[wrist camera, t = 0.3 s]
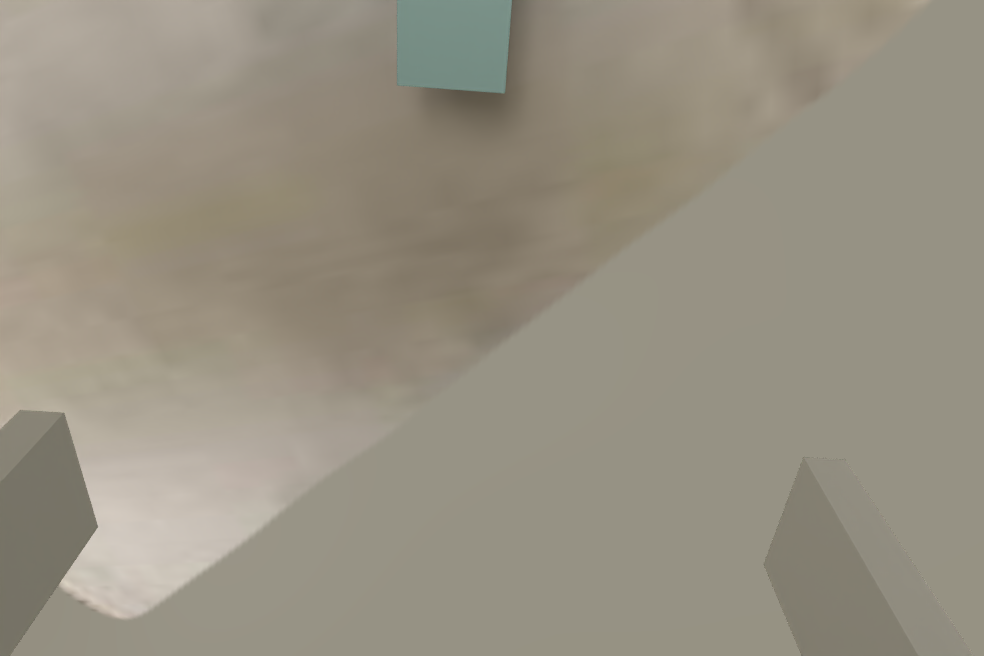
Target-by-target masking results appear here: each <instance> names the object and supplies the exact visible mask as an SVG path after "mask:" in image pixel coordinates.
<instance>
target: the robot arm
mask: <svg viewBox="0 0 984 656" xmlns="http://www.w3.org/2000/svg"><path fill="white" fill-rule="evenodd" d="M97 528H98V525H97V522H96V518H95V515H94V512H93V508H92V505H91V502H90V498H89V495H88V491H87V488H86V485H85V481H84V478H83V475H82V471H81V468H80V464H79V461H78V458H77V454H76V451H75V448H74V444H73V441H72V437H71V434H70V431H69V427H68V424H67V421H66V417H65V414H64V413H59V412H42V411H26V410H20V411H19V412H18V413H17V414H16V415H15V416H14V417H13V418H12V419H11V420H10V421H9V422H8V423H6V424H5V425H4V426H3V427H2V428H1V429H0V656H10V655H11V654H12V652H13V651H14V649H15V648H16V646H17V645H18V643H19V642H20V640H21V639H22V637H23V636H24V635H25V633H26V631H27V630H28V629H29V627H30V626H31V624H32V623H33V621H34V620H35V618H36V617H37V615H38V614H39V612H40V611H41V610H42V608H43V607H44V605H45V604H46V602H47V601H48V599H49V598H50V596H51V595H52V594H53V592H54V590H55V589H56V588H57V586H58V585H59V583H60V582H61V580H62V579H63V577H64V576H65V574H66V573H67V572H68V570H69V569H70V567H71V566H72V564H73V563H74V561H75V560H76V558H77V557H78V555H79V554H80V553H81V551H82V550H83V548H84V547H85V545H86V544H87V542H88V541H89V539H90V538H91V536H92V535H93V533H94V532H95V531H96V529H97ZM764 566H765V569H766V571H767V574H768V576H769V579H770V581H771V583H772V586H773V588H774V591H775V593H776V595H777V598H778V600H779V603H780V605H781V607H782V610H783V612H784V615H785V617H786V619H787V622H788V624H789V627H790V629H791V631H792V634H793V636H794V639H795V641H796V644H797V646H798V648H799V651H800V653H801V656H974V655H973V653H972V652H971V651H970V649H969V647H968V646H967V644H966V643H965V641H964V640H963V638H962V637H961V635H960V634H959V632H958V631H957V629H956V627H955V626H954V624H953V623H952V621H951V620H950V618H949V617H948V615H947V614H946V612H945V611H944V609H943V608H942V606H941V605H940V603H939V602H938V600H937V599H936V597H935V596H934V594H933V593H932V591H931V589H930V588H929V586H928V585H927V584H926V582H925V580H924V579H923V577H922V576H921V574H920V573H919V571H918V570H917V568H916V567H915V565H914V563H913V562H912V560H911V559H910V557H909V556H908V554H907V553H906V551H905V550H904V548H903V547H902V545H901V544H900V542H899V541H898V539H897V538H896V536H895V535H894V533H893V532H892V530H891V528H890V527H889V525H888V524H887V522H886V521H885V519H884V518H883V516H882V515H881V513H880V512H879V510H878V508H877V507H876V506H875V504H874V502H873V501H872V499H871V498H870V497H869V495H868V493H867V492H866V490H865V489H864V487H863V486H862V484H861V483H860V481H859V480H858V478H857V476H856V475H855V473H854V472H853V470H852V469H851V467H850V466H849V464H848V463H847V461H846V460H843V459H827V458H810V457H803V460H802V462H801V465H800V468H799V470H798V473H797V476H796V478H795V481H794V484H793V486H792V489H791V492H790V495H789V498H788V500H787V503H786V506H785V509H784V511H783V514H782V516H781V519H780V522H779V524H778V527H777V530H776V532H775V535H774V538H773V540H772V543H771V546H770V549H769V552H768V554H767V557H766V559H765V562H764Z"/></svg>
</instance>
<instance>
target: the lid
mask: <svg viewBox="0 0 984 656" xmlns="http://www.w3.org/2000/svg"><path fill="white" fill-rule="evenodd" d="M511 6H512V0H397V85H399V86H412V87H426V88H439V89H453V90H466V91H480V92H493V93H505V86H506V73H507V60H508V46H509V33H510V20H511Z"/></svg>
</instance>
